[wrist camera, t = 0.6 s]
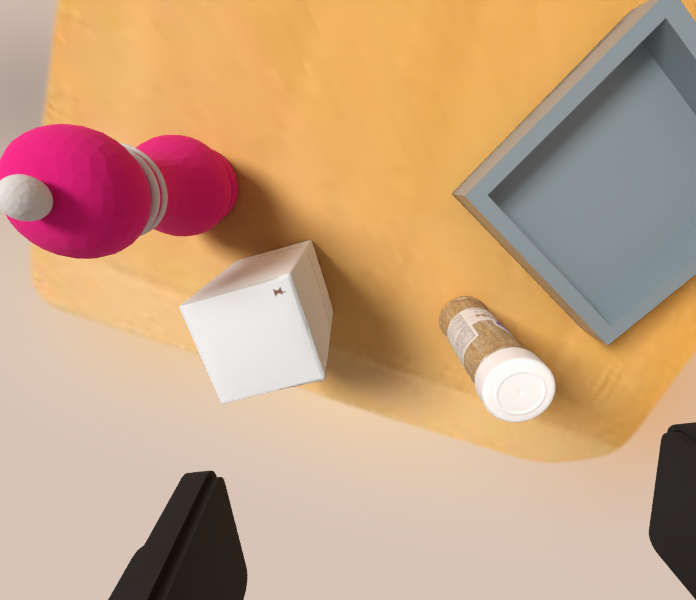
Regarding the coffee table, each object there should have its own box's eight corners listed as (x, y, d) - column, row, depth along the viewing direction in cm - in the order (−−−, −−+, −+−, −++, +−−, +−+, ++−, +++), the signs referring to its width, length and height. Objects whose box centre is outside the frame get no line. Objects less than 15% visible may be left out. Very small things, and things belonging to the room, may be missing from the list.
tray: (629, 11, 29) (671, -13, 26) (755, 182, 33) (808, 183, 29) (451, 193, 34) (464, 196, 30) (581, 327, 37) (607, 345, 33)
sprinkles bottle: (495, 306, 37) (573, 377, 24) (470, 347, 38) (532, 435, 25) (452, 286, 36) (508, 348, 23) (428, 328, 37) (469, 409, 24)
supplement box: (234, 259, 35) (174, 302, 23) (313, 237, 35) (293, 271, 23) (260, 332, 38) (218, 407, 25) (335, 314, 37) (328, 381, 25)
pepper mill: (247, 147, 33) (102, 108, 13) (241, 234, 35) (108, 306, 16) (159, 133, 32) (-117, 72, 13) (158, 221, 34) (-80, 279, 15)
